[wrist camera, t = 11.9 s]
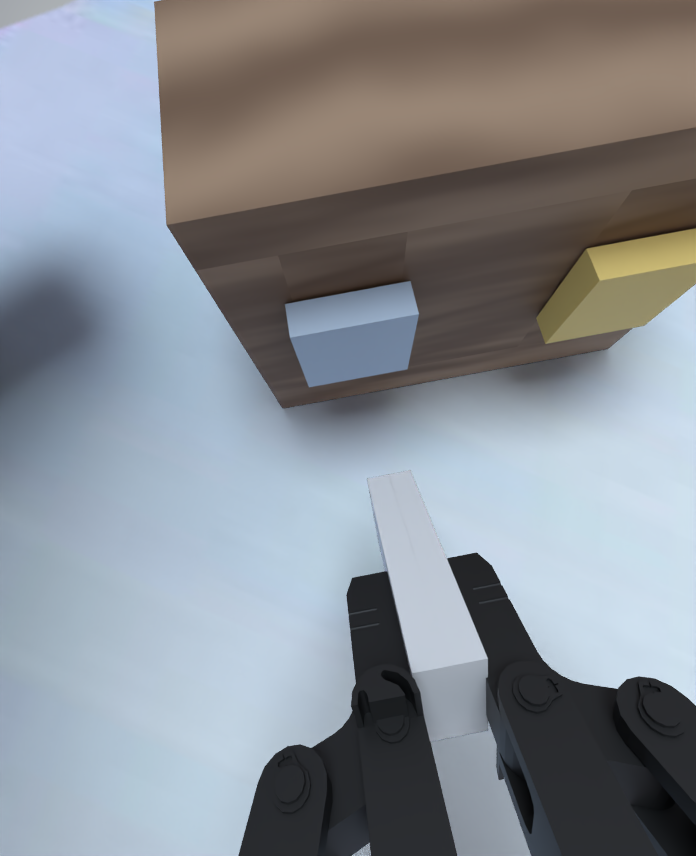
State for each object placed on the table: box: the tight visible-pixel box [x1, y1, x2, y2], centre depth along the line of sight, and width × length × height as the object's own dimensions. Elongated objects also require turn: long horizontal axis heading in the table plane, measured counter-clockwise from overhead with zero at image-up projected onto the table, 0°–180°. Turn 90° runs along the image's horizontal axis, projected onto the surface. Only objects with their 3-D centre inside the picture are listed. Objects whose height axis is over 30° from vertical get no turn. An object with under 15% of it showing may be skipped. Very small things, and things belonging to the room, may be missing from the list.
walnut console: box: [154, 0, 696, 408], centre depth 21 cm, size 10×22×16 cm, turn 100°
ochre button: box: [536, 228, 696, 344], centre depth 19 cm, size 8×5×5 cm, turn 10°
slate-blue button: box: [285, 281, 419, 387], centre depth 19 cm, size 8×5×5 cm, turn 10°
